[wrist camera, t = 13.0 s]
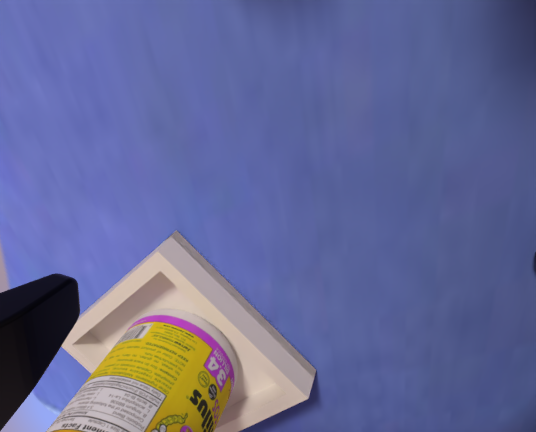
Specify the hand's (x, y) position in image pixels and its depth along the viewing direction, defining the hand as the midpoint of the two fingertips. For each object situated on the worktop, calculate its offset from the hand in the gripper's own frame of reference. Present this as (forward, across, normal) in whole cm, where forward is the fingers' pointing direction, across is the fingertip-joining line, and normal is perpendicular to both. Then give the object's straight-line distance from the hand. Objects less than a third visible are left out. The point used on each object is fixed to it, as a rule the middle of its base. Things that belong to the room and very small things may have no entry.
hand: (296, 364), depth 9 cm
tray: (+13, +7, +15) cm, 21 cm away
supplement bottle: (+13, +7, +14) cm, 20 cm away
